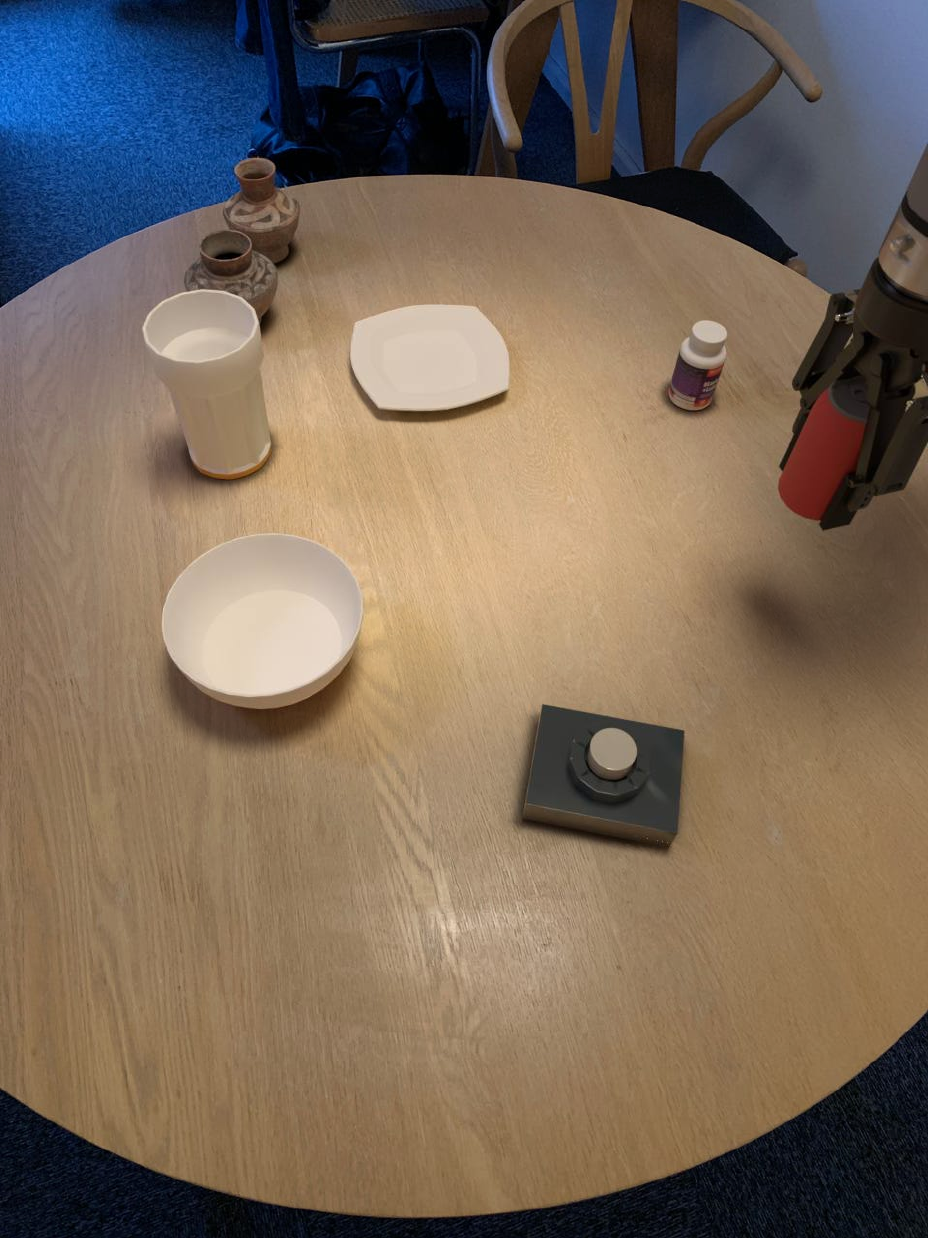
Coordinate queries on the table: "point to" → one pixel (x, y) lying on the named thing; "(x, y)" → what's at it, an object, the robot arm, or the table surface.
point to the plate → (429, 358)
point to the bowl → (263, 620)
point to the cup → (213, 378)
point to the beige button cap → (611, 754)
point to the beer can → (826, 448)
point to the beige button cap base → (597, 804)
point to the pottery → (248, 239)
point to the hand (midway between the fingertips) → (813, 494)
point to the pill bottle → (699, 366)
